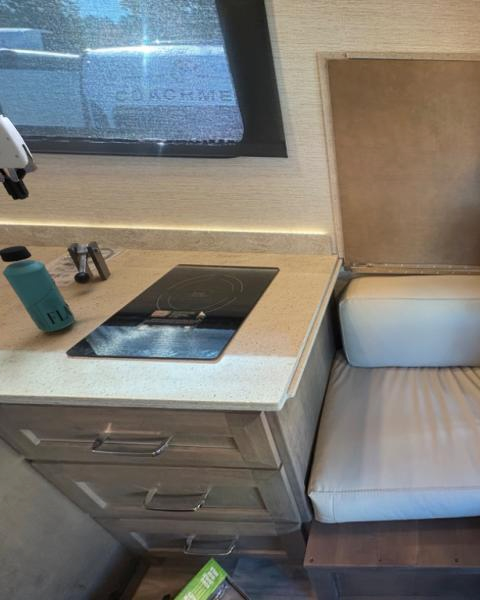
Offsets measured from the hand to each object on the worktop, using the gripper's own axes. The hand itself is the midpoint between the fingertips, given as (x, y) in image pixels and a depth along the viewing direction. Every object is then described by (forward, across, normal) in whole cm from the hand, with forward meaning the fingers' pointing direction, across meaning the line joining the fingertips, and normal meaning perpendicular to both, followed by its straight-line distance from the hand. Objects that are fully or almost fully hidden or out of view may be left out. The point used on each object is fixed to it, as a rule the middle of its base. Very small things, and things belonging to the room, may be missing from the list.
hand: (21, 198), depth 78 cm
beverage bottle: (+25, +4, -21) cm, 33 cm away
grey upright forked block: (+25, +6, +2) cm, 26 cm away
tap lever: (+19, +6, -1) cm, 20 cm away
